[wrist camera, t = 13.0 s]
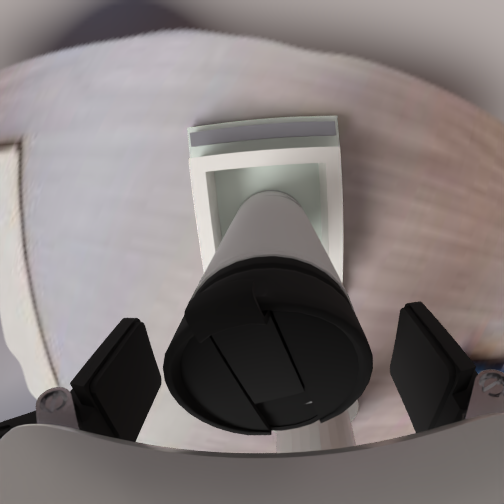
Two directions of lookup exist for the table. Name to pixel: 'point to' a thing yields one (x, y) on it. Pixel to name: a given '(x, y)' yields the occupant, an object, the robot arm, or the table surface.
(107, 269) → the table surface
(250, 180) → the white rectangular tray
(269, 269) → the travel mug
